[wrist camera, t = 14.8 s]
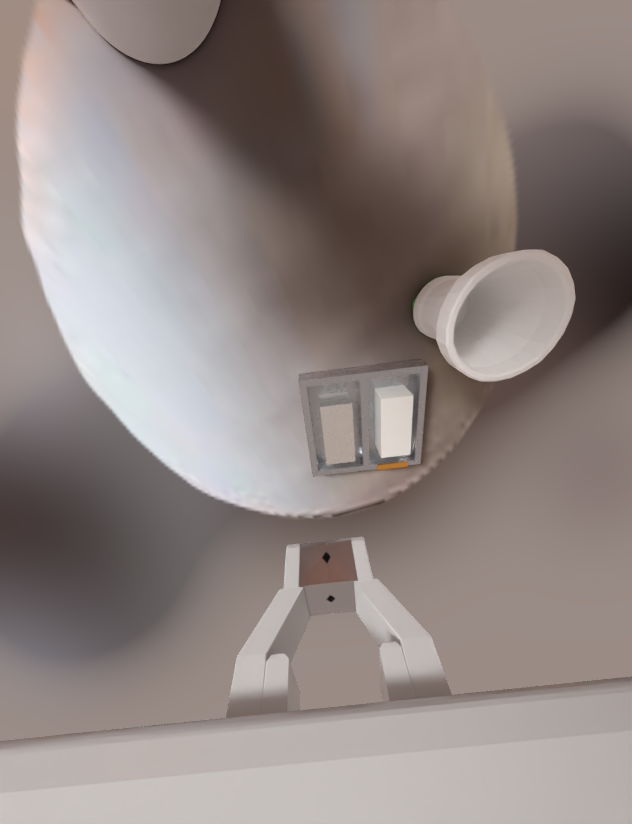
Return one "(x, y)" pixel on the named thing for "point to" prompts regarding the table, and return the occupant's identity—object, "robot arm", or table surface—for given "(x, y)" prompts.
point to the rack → (357, 415)
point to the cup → (498, 313)
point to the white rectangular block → (393, 420)
